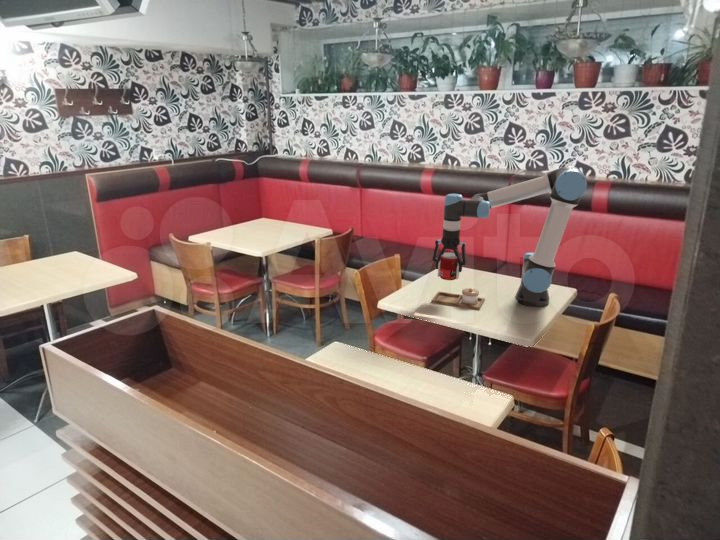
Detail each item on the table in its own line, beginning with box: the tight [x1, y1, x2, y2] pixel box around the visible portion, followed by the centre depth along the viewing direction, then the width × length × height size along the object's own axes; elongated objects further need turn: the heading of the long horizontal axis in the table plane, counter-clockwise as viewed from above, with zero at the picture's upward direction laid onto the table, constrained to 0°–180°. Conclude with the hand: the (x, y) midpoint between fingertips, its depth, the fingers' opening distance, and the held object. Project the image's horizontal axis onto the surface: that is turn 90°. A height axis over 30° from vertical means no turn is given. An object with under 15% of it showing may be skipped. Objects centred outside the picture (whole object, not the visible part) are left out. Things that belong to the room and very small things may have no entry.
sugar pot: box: [461, 287, 480, 306], centre depth 244 cm, size 8×8×7 cm
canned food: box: [439, 252, 458, 281], centre depth 244 cm, size 8×8×11 cm
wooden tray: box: [431, 291, 486, 311], centre depth 248 cm, size 22×12×2 cm, turn 67°
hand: (448, 277), depth 246 cm, fingers closed on canned food, 8 cm apart
